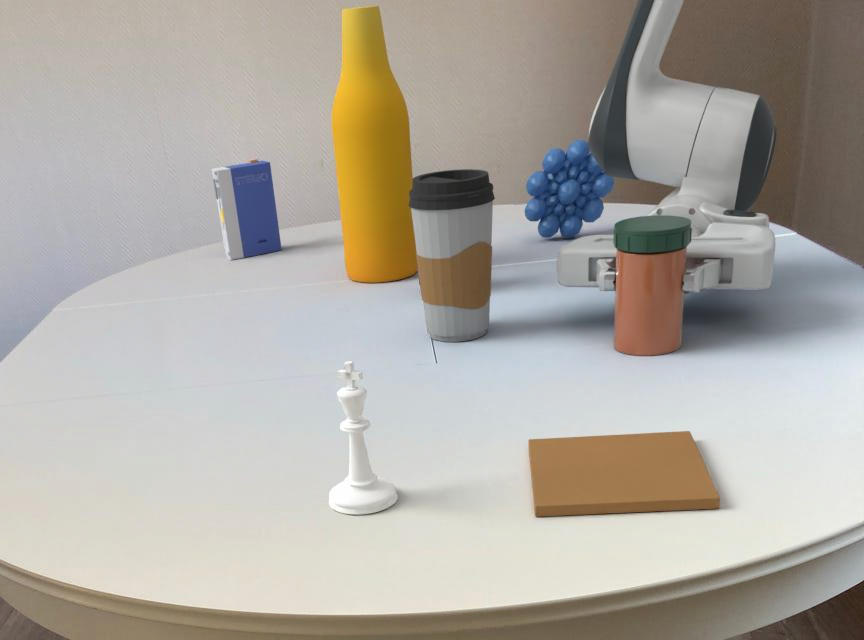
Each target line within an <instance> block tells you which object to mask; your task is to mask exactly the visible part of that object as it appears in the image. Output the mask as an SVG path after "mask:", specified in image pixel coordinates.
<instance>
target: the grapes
mask: <svg viewBox="0 0 864 640" xmlns="http://www.w3.org/2000/svg"><path fill="white" fill-rule="evenodd" d="M541 164H542V169H543V170H537V171H535V172H533V173H532V174H531V175H529V176H528V179H527V181H526V185H525V188H526V192H527V194H528V195H529V196H530V197H532V198H531V199H530V200H528V202H526V205H525V208H524V216H525V218H526V220H527V221H529V222H538V225H537V233H538V234H539V236H540V237H542V238H544V239H545V238H546V239H547V238H549V239H550V238H552V237H553V236H554V235H556V234H557V233H558V232H559V233H560V236H562V237H563V238H564V239H573V238H574V237H576V236H577V235H578V234H580V232H581V230H582V227H583V225H584V222H585V223H594V222H595V221H597V220H598V219H600V218H601V216H602V213H603V211H604V209H605V207H604V202H603V200H602V199H603V198H605V197H606V196H608V195H609V194H611V192H612V190H613V187H614V185H615V177H609V176H607V175H606V174H605V173H604V171H603V170H602V169H601V168H600V166H599V165H598V164H597V162H596V160H595V159H594V157H593V155H592V153H591V151H590V149H589V147H588V141H586V140H585V139H581V138H580V139H575V140H574V141H572V143H570V145H568V147H567V150H566V152H565V150H563V149H562V148H560V147H559V148H558V147H557V148H556V147H555V148H552V149H551V150H549V151H548V152H547V153H545V155H544V157H543V159H542V162H541Z"/></svg>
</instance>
